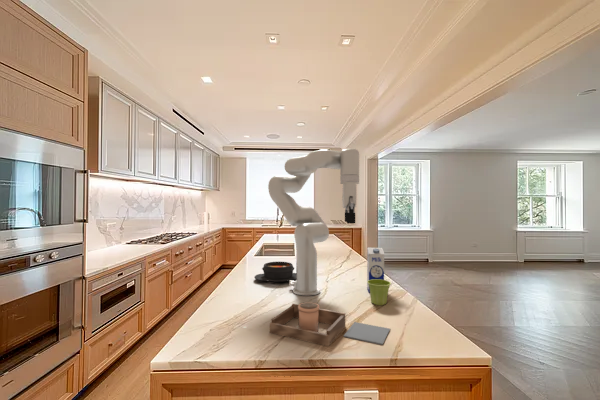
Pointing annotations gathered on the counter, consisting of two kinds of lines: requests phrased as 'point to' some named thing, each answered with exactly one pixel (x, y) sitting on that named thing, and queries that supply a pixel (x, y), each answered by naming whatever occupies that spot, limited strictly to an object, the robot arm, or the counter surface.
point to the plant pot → (378, 291)
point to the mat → (367, 333)
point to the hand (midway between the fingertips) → (349, 222)
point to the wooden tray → (326, 339)
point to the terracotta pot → (308, 316)
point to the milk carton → (375, 264)
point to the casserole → (277, 272)
